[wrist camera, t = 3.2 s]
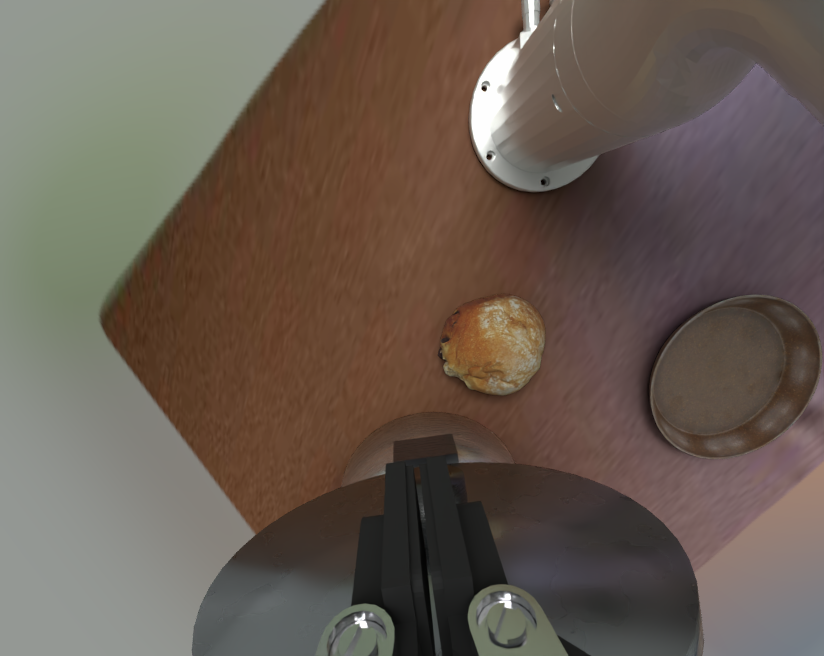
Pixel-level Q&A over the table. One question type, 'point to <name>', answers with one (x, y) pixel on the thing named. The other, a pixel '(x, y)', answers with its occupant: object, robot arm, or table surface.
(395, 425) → the cooker pot
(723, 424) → the plant saucer
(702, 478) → the table surface
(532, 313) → the bread roll
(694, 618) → the cooker lid
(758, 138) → the table surface
